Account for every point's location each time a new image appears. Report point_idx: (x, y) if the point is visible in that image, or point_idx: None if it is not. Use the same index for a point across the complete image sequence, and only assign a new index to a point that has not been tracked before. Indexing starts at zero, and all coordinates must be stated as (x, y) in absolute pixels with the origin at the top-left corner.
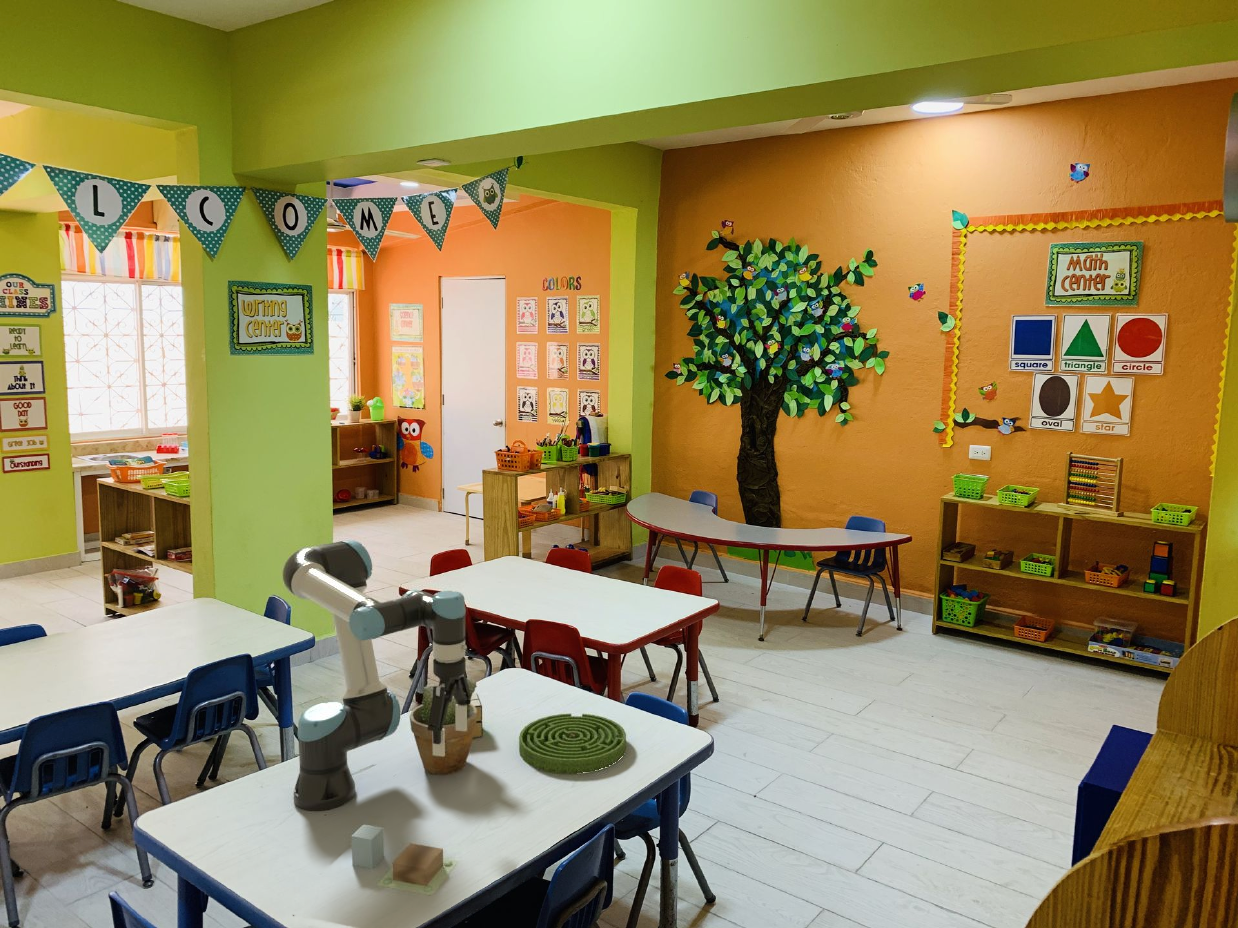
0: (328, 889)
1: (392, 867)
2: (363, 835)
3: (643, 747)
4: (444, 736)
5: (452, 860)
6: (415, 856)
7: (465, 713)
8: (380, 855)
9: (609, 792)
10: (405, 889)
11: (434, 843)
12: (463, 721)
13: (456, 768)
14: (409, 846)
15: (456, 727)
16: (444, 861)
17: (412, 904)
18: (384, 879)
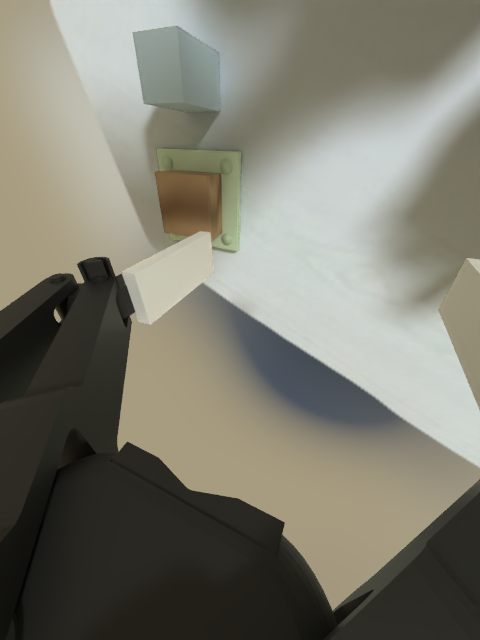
0: (127, 51)
1: (195, 150)
2: (146, 69)
3: None
4: (173, 305)
5: (235, 242)
6: (180, 203)
7: (465, 373)
8: (201, 109)
9: (457, 425)
10: None
11: (285, 188)
12: (456, 328)
13: None
14: (198, 179)
15: (468, 269)
16: (231, 231)
17: (158, 217)
18: (166, 155)
